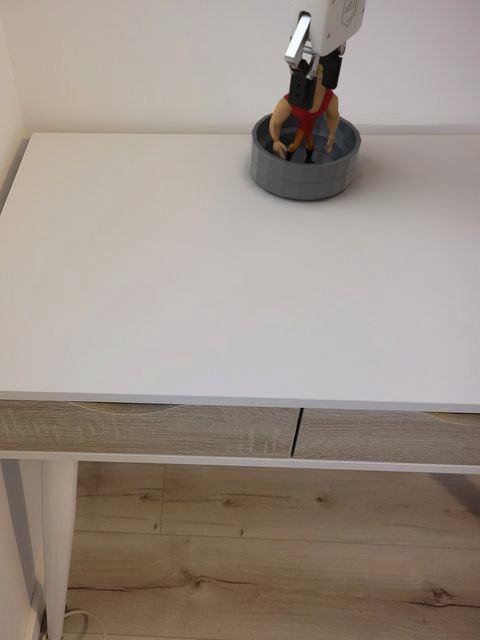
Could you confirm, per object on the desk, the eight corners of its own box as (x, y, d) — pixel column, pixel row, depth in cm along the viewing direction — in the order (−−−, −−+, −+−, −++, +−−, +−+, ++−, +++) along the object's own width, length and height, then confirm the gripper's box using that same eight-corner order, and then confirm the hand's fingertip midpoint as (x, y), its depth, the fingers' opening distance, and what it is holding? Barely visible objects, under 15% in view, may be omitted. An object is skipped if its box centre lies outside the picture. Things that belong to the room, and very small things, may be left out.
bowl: (282, 133, 91) (287, 97, 87) (370, 165, 85) (379, 129, 81) (229, 178, 84) (231, 142, 80) (320, 216, 78) (327, 179, 74)
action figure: (270, 181, 83) (282, 72, 71) (262, 166, 85) (273, 58, 73) (336, 171, 84) (359, 63, 72) (327, 157, 86) (348, 49, 74)
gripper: (332, -42, 57) (304, 135, 71) (409, -89, 65) (370, 78, 79) (263, -57, 60) (249, 116, 74) (346, -100, 68) (319, 62, 82)
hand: (312, 94), depth 76 cm, fingers closed on action figure, 5 cm apart
